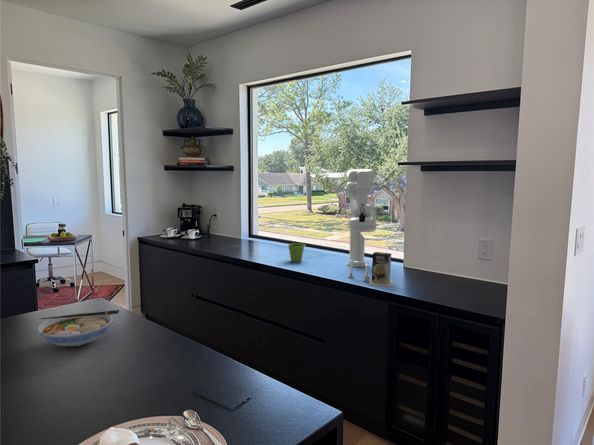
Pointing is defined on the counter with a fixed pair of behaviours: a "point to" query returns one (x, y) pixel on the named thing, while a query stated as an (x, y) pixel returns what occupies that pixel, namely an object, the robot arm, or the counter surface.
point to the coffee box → (381, 267)
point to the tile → (381, 283)
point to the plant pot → (296, 252)
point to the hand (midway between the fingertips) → (362, 221)
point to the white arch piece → (365, 270)
